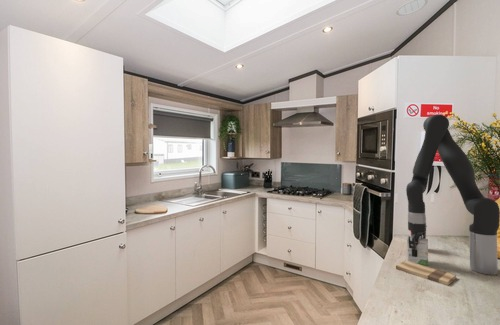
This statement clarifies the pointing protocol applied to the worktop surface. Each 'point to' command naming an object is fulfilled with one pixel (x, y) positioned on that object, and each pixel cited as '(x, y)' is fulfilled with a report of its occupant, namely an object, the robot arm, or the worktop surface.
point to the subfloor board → (426, 272)
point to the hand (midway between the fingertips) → (417, 254)
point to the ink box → (419, 252)
